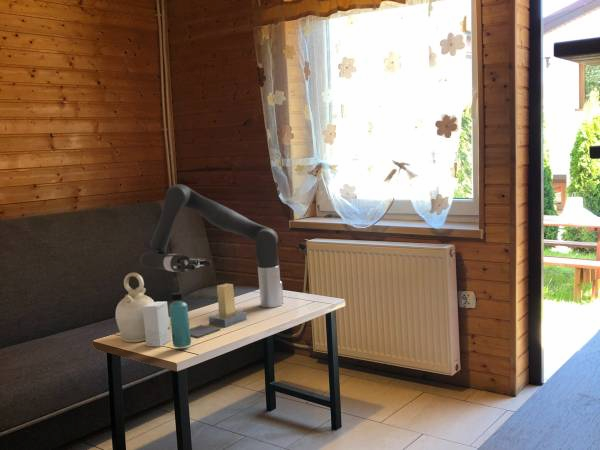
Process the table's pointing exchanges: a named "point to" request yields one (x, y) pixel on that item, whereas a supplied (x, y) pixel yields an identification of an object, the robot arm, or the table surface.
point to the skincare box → (156, 324)
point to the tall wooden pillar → (226, 300)
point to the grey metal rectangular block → (227, 319)
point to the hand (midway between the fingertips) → (202, 265)
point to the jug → (132, 311)
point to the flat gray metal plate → (202, 331)
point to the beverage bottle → (179, 321)
